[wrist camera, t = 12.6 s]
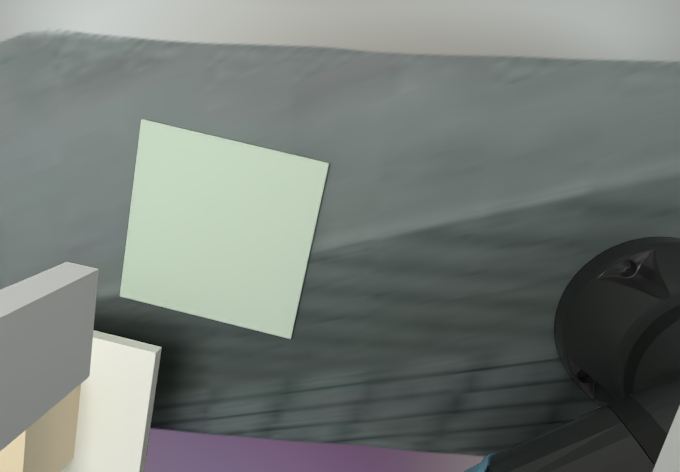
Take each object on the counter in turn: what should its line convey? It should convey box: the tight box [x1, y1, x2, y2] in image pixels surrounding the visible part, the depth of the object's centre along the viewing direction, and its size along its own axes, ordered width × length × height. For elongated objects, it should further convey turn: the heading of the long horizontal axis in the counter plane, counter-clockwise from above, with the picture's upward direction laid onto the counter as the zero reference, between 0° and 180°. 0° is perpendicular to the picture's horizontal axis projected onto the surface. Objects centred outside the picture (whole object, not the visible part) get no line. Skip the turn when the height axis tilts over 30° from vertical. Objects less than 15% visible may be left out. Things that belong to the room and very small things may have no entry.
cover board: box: [0, 330, 162, 472], centre depth 36 cm, size 14×14×7 cm
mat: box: [120, 119, 329, 339], centre depth 42 cm, size 16×16×1 cm
